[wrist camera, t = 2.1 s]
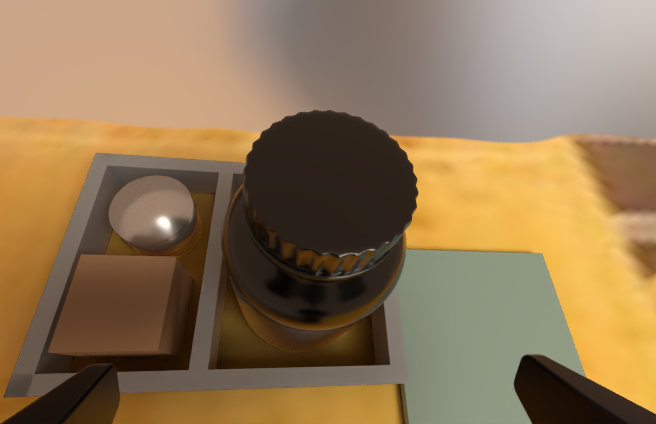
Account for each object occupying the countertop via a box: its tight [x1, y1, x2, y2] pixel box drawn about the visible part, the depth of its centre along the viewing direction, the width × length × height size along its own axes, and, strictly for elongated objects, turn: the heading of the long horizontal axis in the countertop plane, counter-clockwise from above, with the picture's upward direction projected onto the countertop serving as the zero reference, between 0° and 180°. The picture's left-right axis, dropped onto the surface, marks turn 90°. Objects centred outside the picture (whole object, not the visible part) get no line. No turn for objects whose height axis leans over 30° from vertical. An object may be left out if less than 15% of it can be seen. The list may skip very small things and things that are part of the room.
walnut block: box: [48, 254, 194, 359], centre depth 15 cm, size 4×4×4 cm
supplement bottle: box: [221, 110, 418, 352], centre depth 14 cm, size 7×7×12 cm
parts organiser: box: [4, 153, 409, 397], centre depth 18 cm, size 12×17×2 cm
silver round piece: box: [109, 175, 203, 259], centre depth 18 cm, size 4×4×3 cm
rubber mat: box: [396, 249, 586, 424], centre depth 19 cm, size 11×11×1 cm
